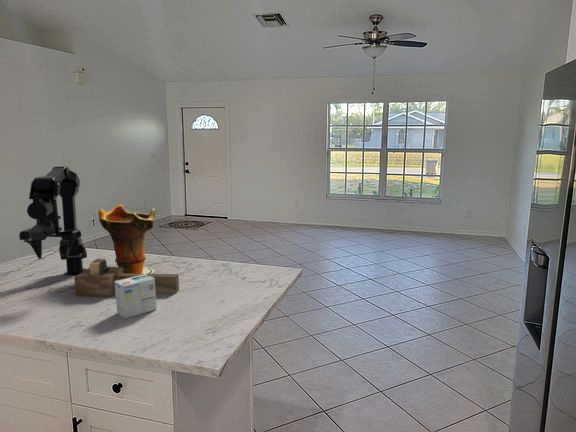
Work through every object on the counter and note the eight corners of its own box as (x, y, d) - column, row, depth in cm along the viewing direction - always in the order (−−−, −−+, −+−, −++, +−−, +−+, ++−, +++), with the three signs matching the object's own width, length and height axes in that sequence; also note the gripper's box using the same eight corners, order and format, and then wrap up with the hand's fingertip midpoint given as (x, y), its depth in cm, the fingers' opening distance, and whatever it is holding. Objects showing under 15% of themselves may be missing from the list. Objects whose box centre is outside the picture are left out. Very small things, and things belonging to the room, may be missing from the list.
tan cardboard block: (99, 279, 155) (97, 258, 154) (108, 279, 155) (106, 258, 154) (91, 285, 150) (89, 263, 148) (101, 285, 149) (99, 263, 148)
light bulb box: (147, 304, 141) (145, 272, 139) (157, 309, 136) (155, 277, 134) (115, 313, 133) (113, 280, 131) (125, 319, 129) (122, 285, 127)
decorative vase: (147, 282, 160) (139, 209, 156) (92, 282, 164) (82, 210, 159) (171, 266, 181) (164, 201, 176) (121, 266, 184) (113, 202, 180)
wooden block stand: (92, 284, 159) (91, 266, 158) (182, 285, 158) (181, 267, 157) (76, 296, 147) (74, 277, 146) (173, 297, 146) (172, 278, 145)
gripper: (5, 218, 137) (11, 265, 139) (62, 218, 136) (66, 265, 139) (27, 212, 148) (32, 255, 150) (80, 212, 147) (83, 256, 150)
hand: (53, 258), depth 147 cm, fingers open, 9 cm apart
